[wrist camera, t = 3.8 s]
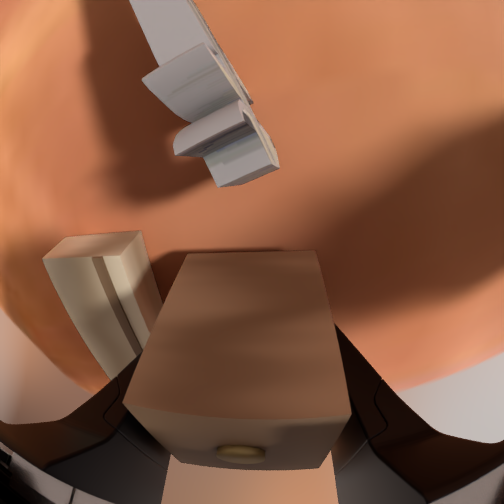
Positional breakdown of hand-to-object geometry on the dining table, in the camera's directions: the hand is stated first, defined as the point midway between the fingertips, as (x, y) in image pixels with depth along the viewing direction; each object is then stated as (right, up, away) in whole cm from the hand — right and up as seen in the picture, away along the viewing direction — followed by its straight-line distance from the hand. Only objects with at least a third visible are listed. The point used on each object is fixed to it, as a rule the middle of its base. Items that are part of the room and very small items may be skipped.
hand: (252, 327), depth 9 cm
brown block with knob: (0, +1, +1) cm, 1 cm away
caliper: (-4, +14, -5) cm, 16 cm away
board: (-6, -2, +4) cm, 8 cm away
